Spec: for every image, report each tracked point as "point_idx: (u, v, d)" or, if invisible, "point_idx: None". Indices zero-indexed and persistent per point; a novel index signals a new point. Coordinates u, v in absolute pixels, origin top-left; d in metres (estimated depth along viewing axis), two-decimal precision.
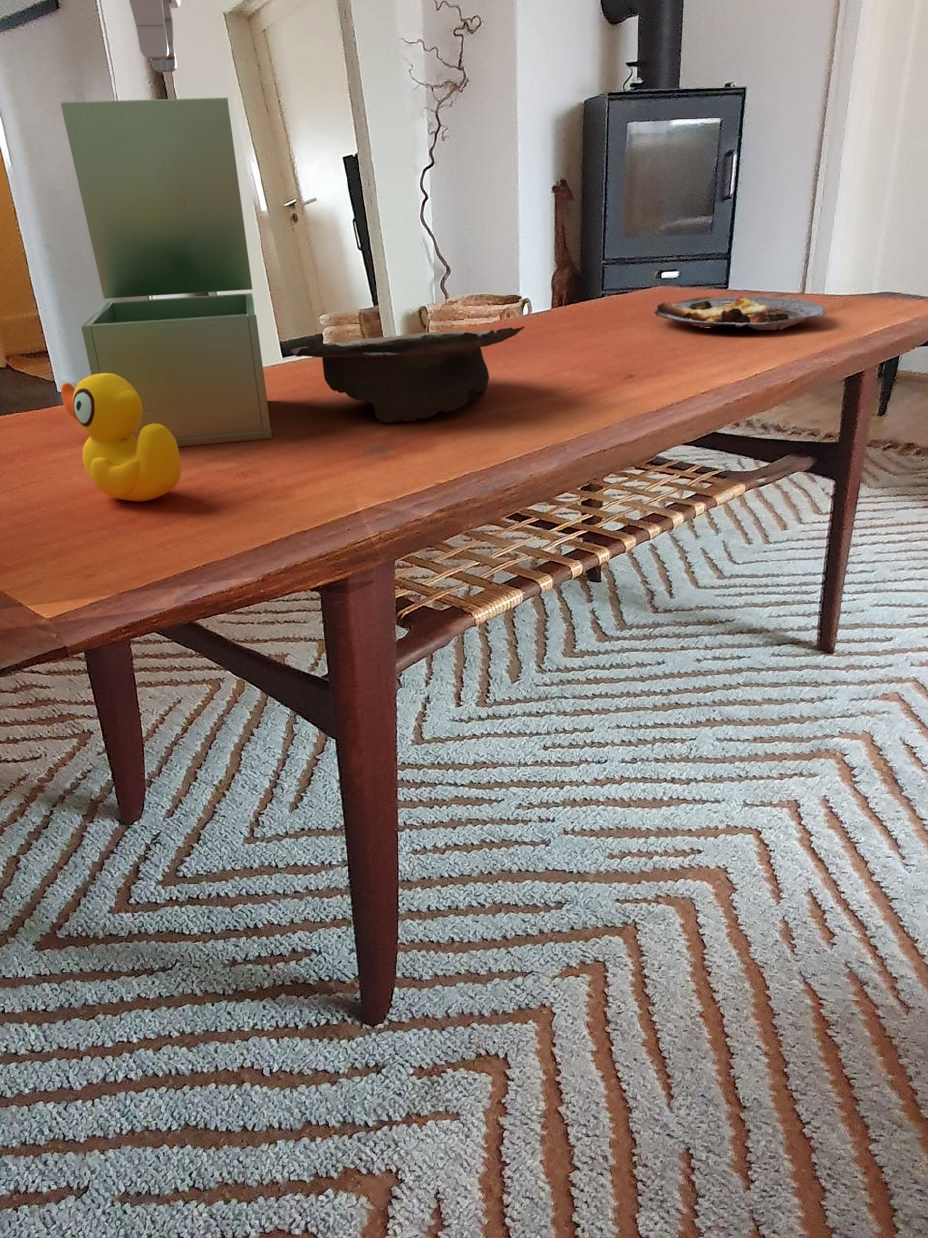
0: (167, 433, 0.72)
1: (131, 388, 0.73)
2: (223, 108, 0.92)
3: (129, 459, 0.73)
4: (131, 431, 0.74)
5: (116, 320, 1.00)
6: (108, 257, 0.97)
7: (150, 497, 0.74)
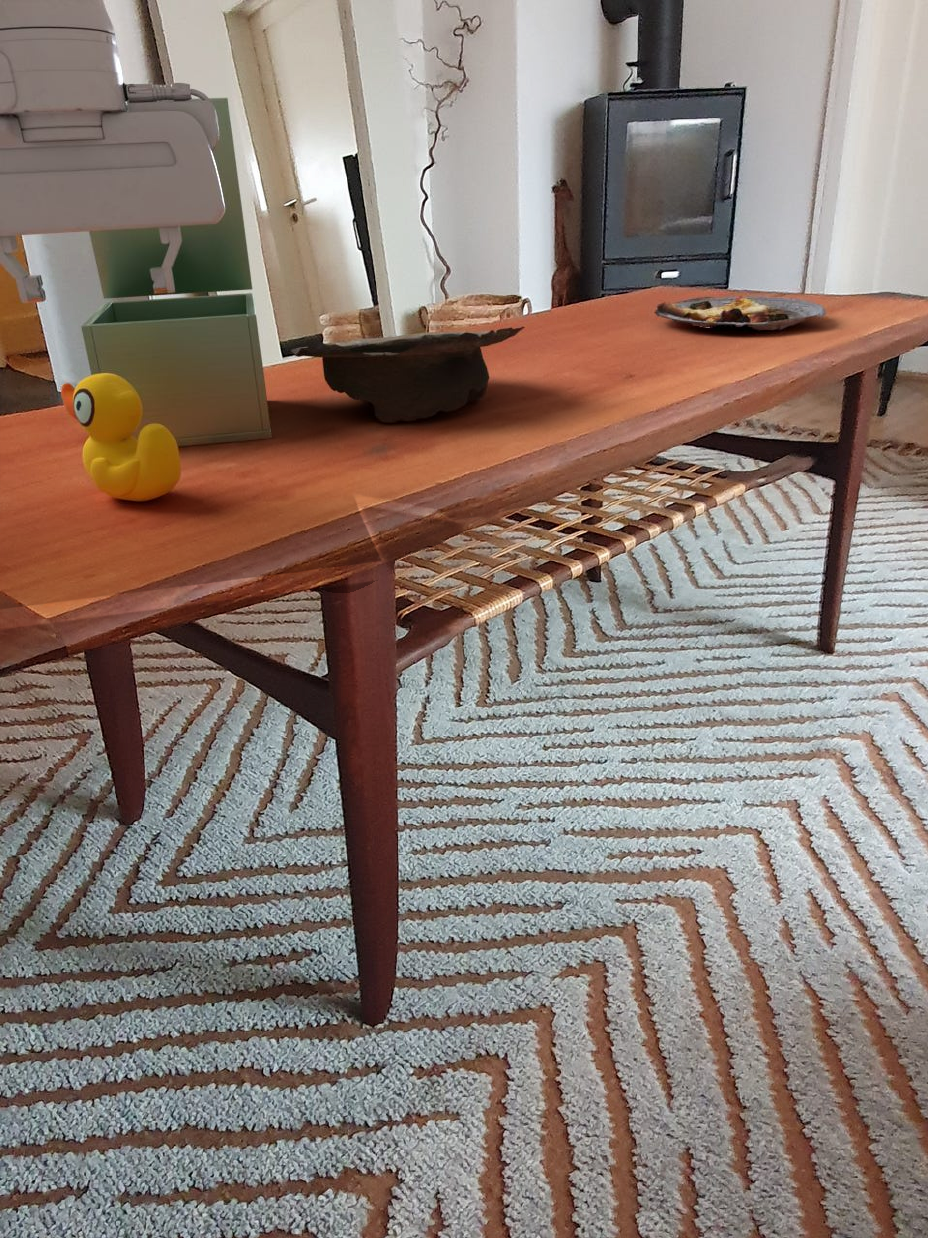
0: (167, 433, 0.72)
1: (131, 388, 0.73)
2: (223, 108, 0.92)
3: (129, 459, 0.73)
4: (131, 431, 0.74)
5: (116, 320, 1.00)
6: (108, 257, 0.97)
7: (150, 497, 0.74)
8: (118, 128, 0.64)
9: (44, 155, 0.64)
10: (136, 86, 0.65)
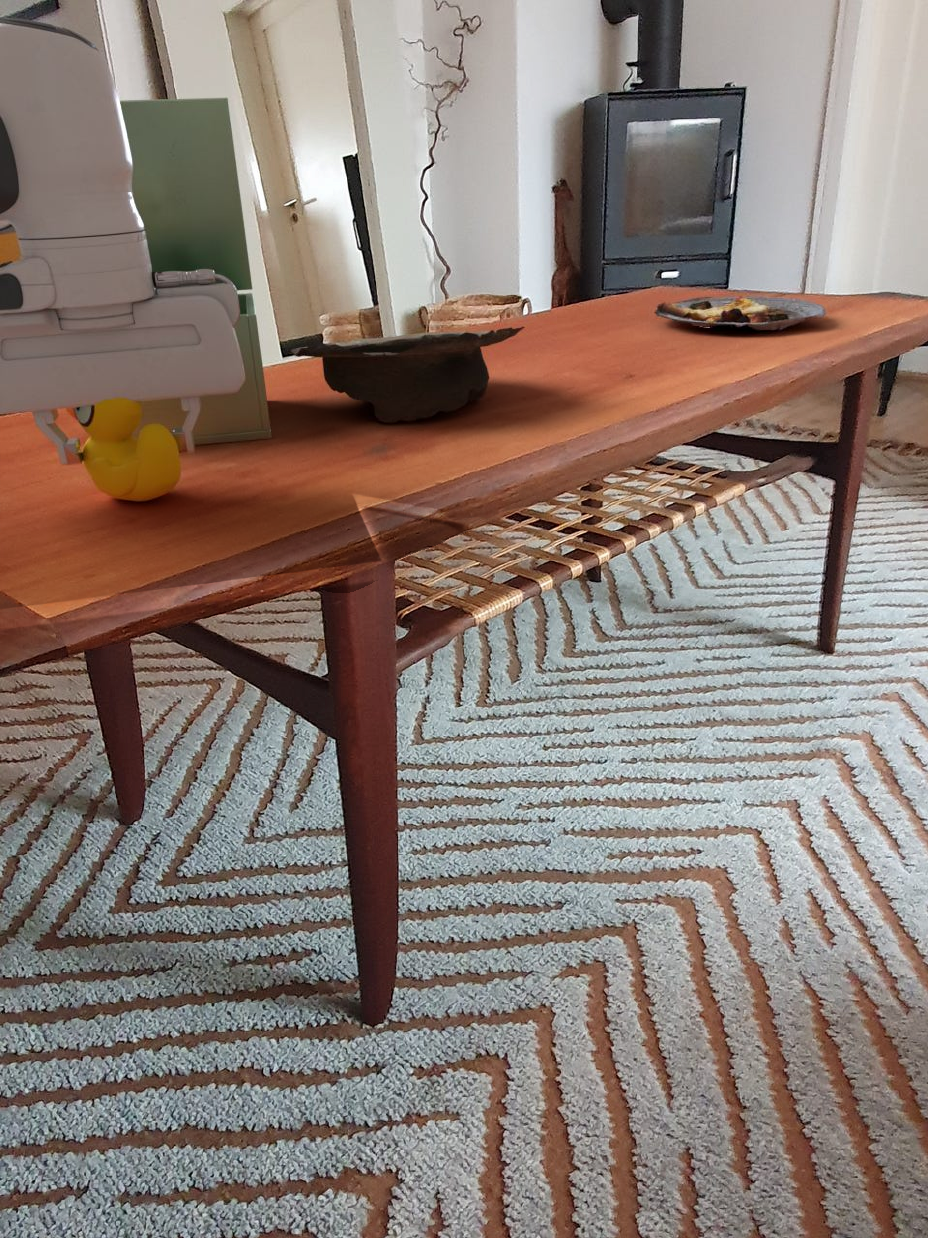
0: (167, 433, 0.72)
1: None
2: (223, 108, 0.92)
3: (129, 459, 0.73)
4: (131, 431, 0.74)
5: None
6: None
7: (150, 497, 0.74)
8: (147, 314, 0.70)
9: (79, 339, 0.70)
10: (164, 274, 0.70)
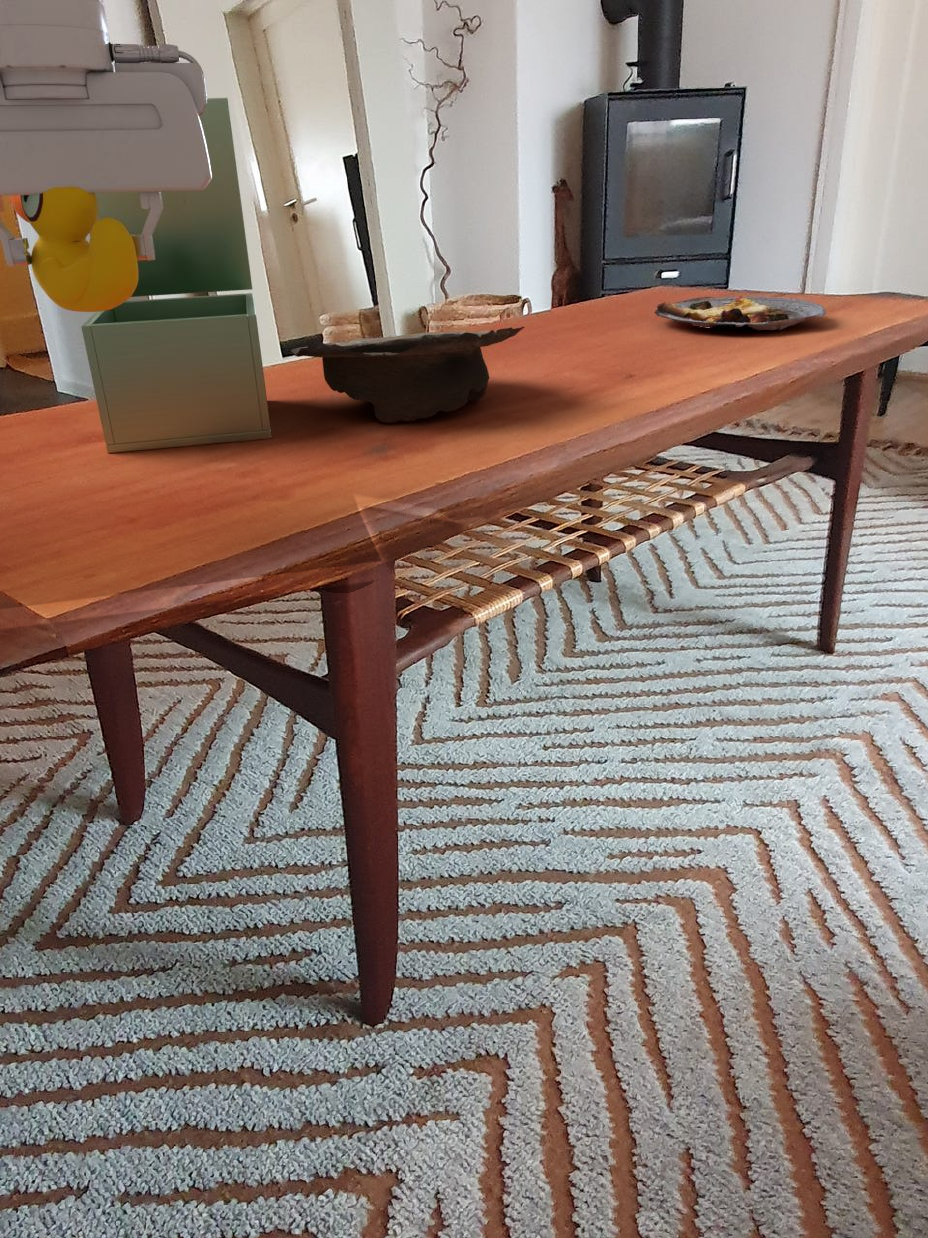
0: (123, 228, 0.66)
1: None
2: (223, 108, 0.92)
3: (81, 258, 0.67)
4: (84, 230, 0.68)
5: (116, 320, 1.00)
6: None
7: (104, 304, 0.68)
8: (103, 88, 0.63)
9: (27, 113, 0.63)
10: (122, 46, 0.64)
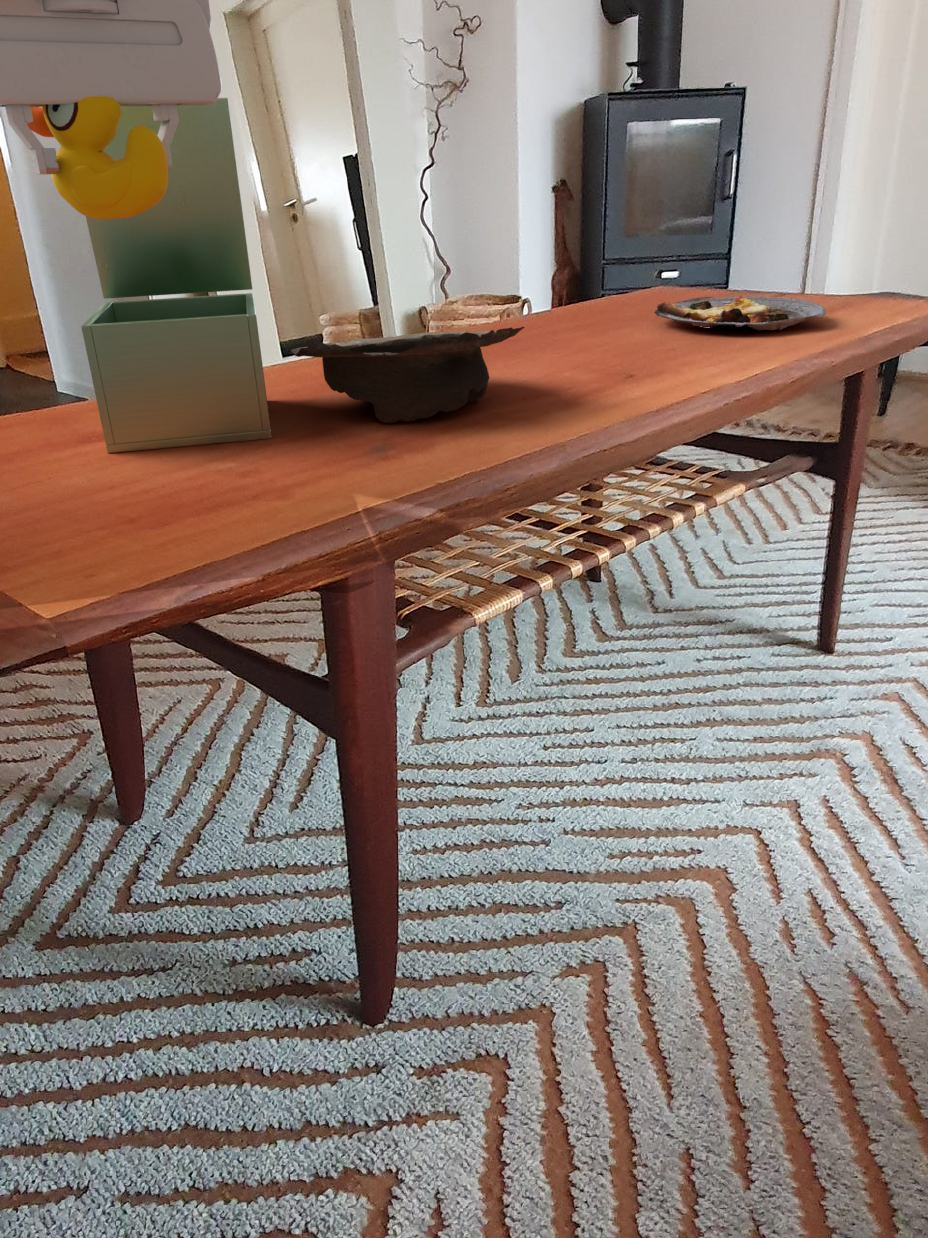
0: None
1: None
2: (223, 108, 0.92)
3: (116, 164, 0.72)
4: (109, 140, 0.73)
5: (116, 320, 1.00)
6: (108, 257, 0.97)
7: (139, 208, 0.74)
8: (131, 5, 0.69)
9: (62, 25, 0.68)
10: None
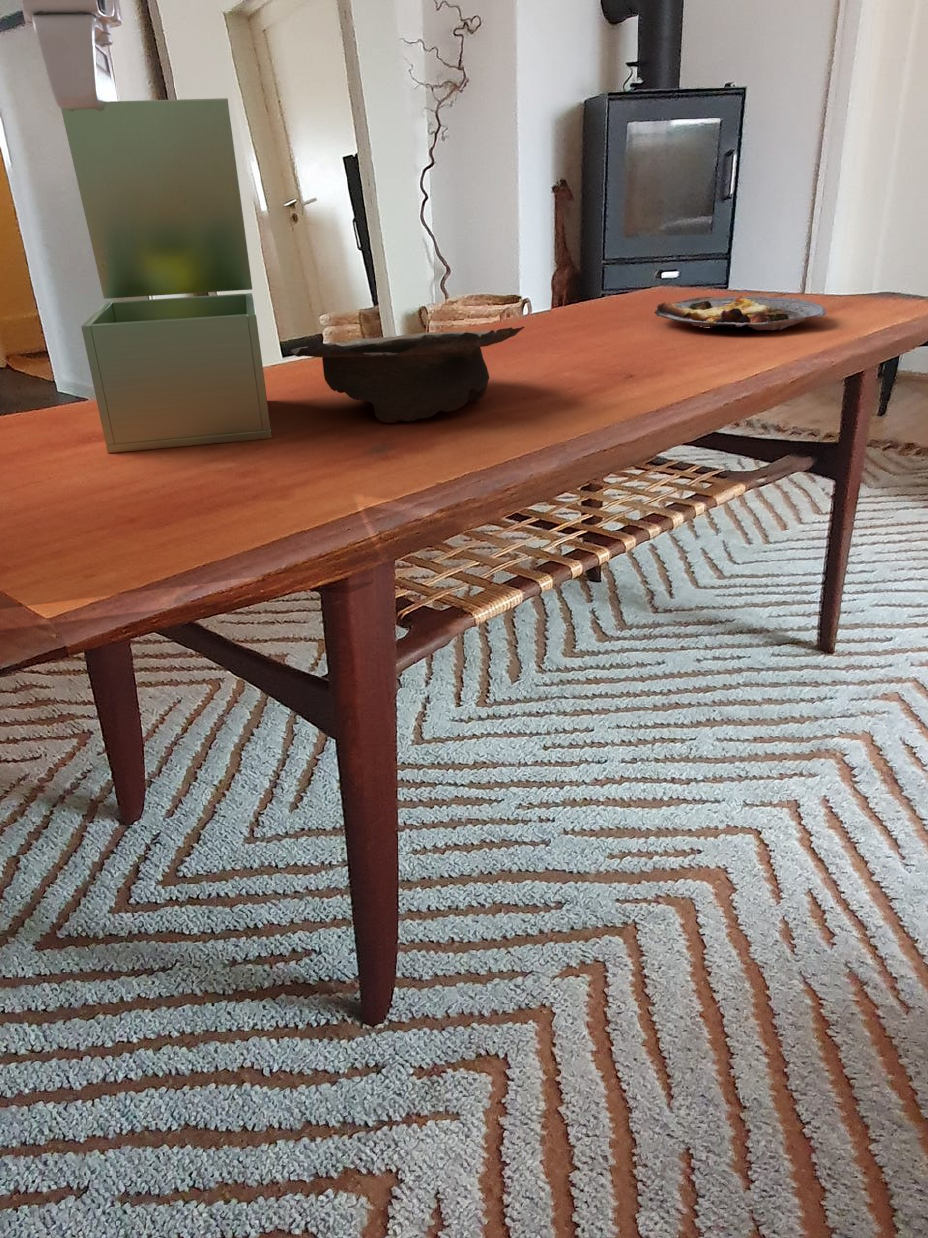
0: None
1: None
2: (223, 109, 0.92)
3: None
4: None
5: (116, 320, 1.00)
6: (108, 257, 0.97)
7: None
8: None
9: (95, 52, 0.89)
10: None
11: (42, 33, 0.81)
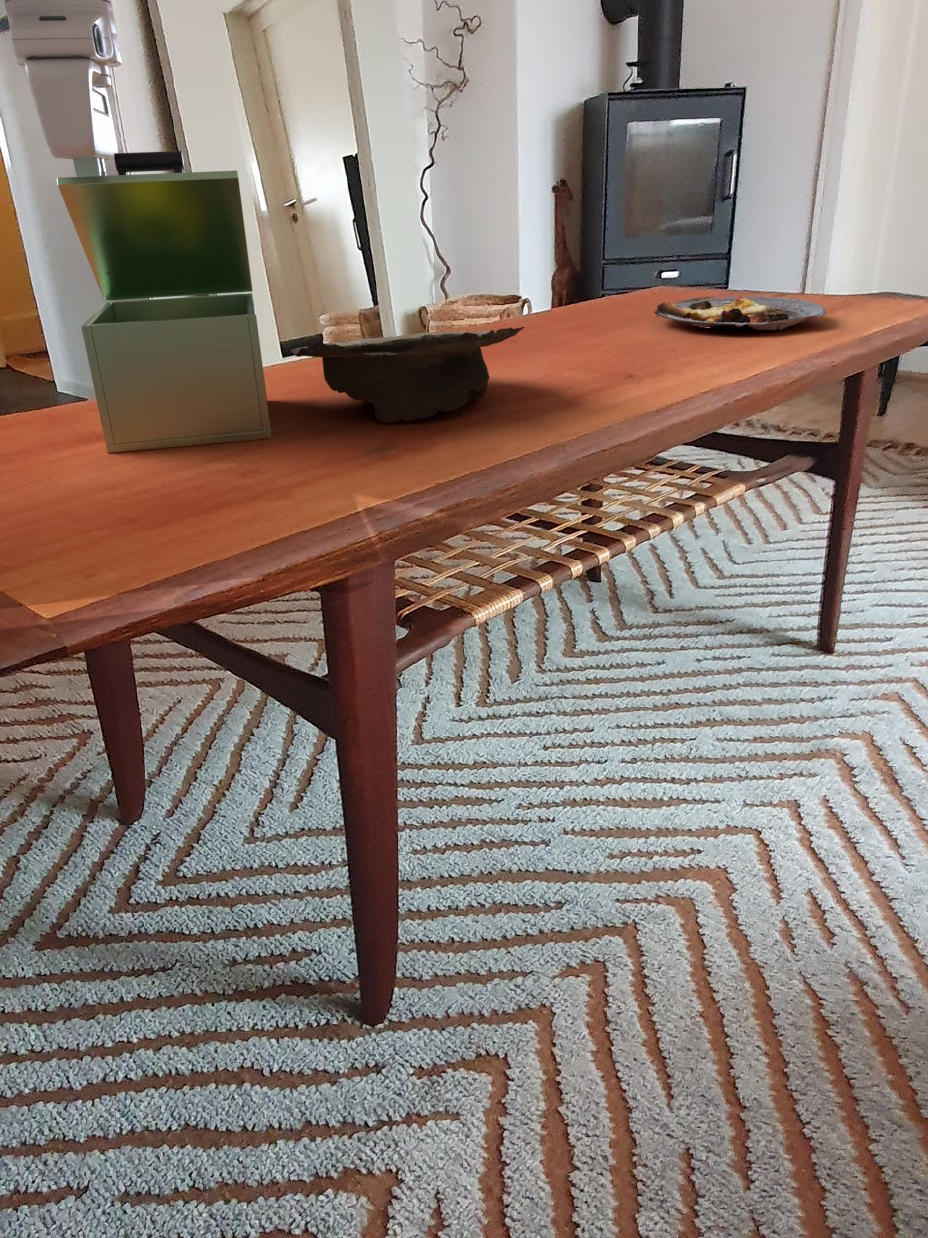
0: None
1: None
2: (233, 184, 0.85)
3: None
4: None
5: (116, 320, 1.00)
6: (109, 277, 0.96)
7: None
8: None
9: (92, 95, 0.84)
10: None
11: (35, 79, 0.76)
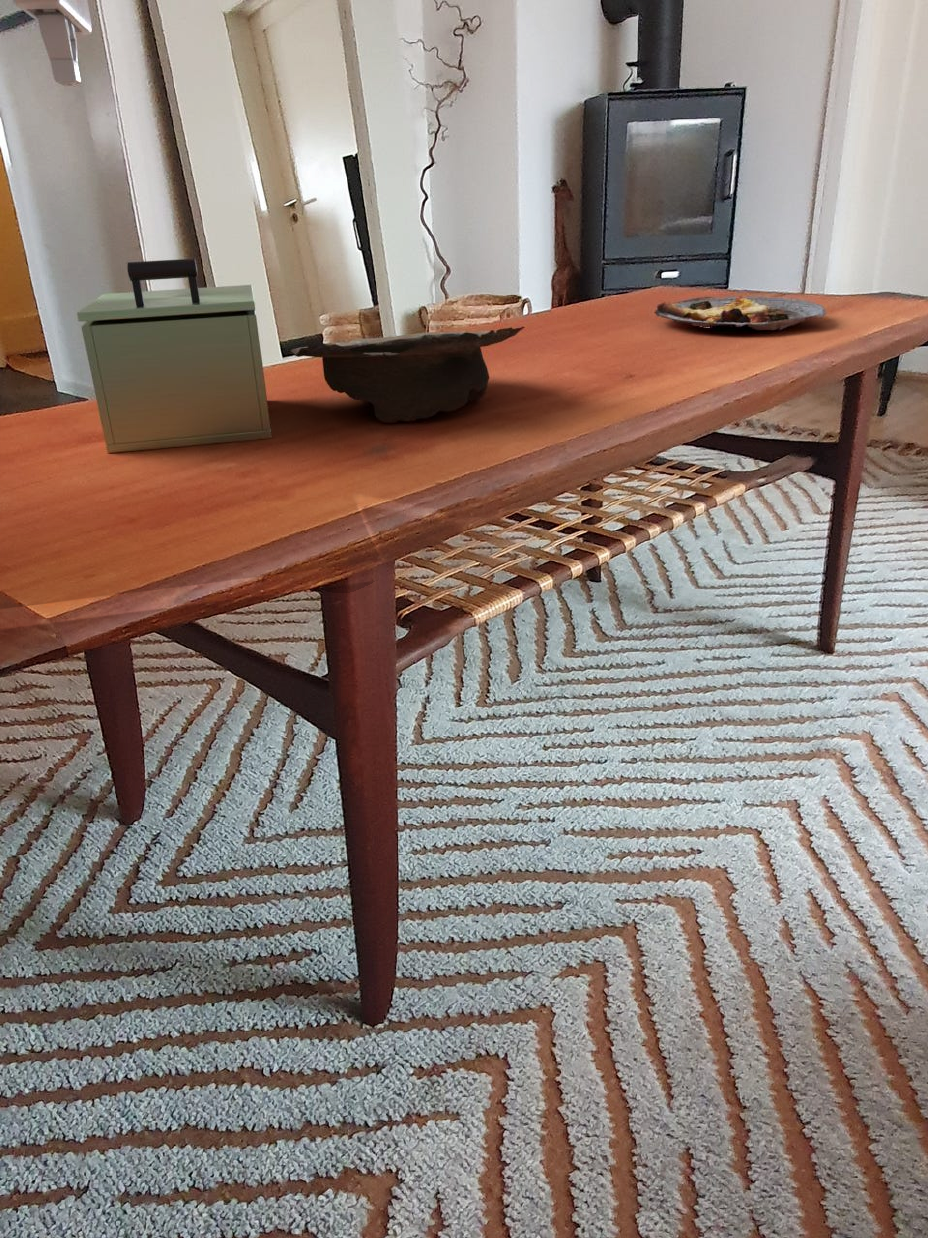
0: None
1: None
2: None
3: None
4: None
5: (116, 320, 1.00)
6: None
7: None
8: None
9: None
10: None
11: None
